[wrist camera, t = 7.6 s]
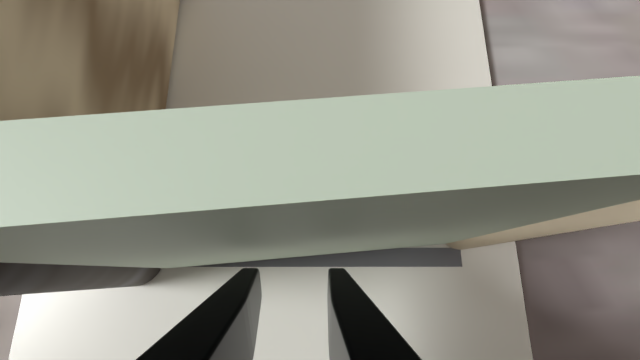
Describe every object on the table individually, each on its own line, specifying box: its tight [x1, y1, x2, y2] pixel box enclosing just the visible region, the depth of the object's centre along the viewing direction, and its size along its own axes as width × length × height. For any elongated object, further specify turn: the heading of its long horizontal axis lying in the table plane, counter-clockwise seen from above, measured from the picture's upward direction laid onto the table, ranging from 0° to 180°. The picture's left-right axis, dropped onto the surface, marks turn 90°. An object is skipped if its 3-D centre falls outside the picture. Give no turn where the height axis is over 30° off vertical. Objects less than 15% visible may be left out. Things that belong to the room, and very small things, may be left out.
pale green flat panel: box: [0, 76, 640, 268], centre depth 9 cm, size 2×13×11 cm, turn 95°
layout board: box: [9, 0, 533, 360], centre depth 16 cm, size 27×21×1 cm
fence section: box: [0, 0, 180, 296], centre depth 11 cm, size 16×2×13 cm, turn 0°
